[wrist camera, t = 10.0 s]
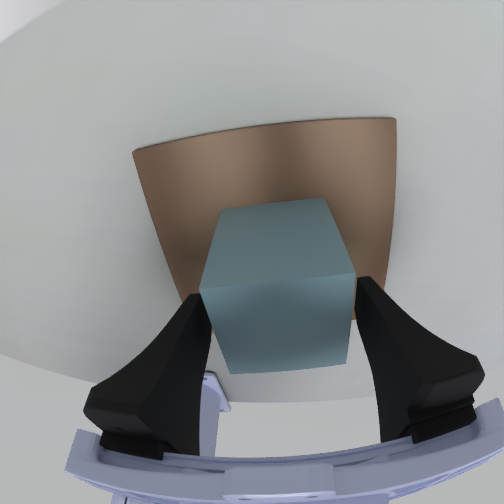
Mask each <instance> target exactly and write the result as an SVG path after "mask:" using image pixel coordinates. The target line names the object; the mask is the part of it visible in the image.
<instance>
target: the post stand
mask: <svg viewBox="0 0 504 504" xmlns="http://www.w3.org/2000/svg"><path fill="white" fill-rule="evenodd" d="M132 154H133V158H134V162H135V165H136V169H137V172H138V175H139V179H140V182H141V186H142V189H143V192H144V195H145V199H146V202H147V205H148V208H149V211H150V214H151V217H152V220H153V223H154V226H155V229H156V232H157V235H158V238H159V241H160V244H161V247H162V249H163V252H164V255H165V258H166V261H167V263H168V266H169V269H170V271H171V274H172V277H173V279H174V282H175V285H176V287H177V290H178V292H179V295H180V297H181V300H182V302H184V301H185V299H186V298H187V297H188V295H189V294H195V293H200V291H199V286H200V283H201V279H202V275H203V272H204V268H205V264H206V261H207V257H208V254H209V250H210V247H211V243H212V240H213V236H214V233H215V229H216V226H217V223H218V219H219V216H220V212H221V210H222V209H229V208H236V207H244V206H252V205H260V204H268V203H276V202H285V201H294V200H303V199H313V198H323V197H324V199H325V201H326V203H327V205H328V207H329V210H330V212H331V214H332V216H333V219H334V221H335V223H336V226H337V228H338V230H339V233H340V235H341V237H342V240H343V242H344V245H345V247H346V250H347V252H348V254H349V257H350V259H351V262H352V265H353V267H354V270H355V272H356V275H355V288H354V299H353V310H352V319H351V320H355V319H356V316H355V311H354V306H355V296H356V286H357V277H364V276H370V277H372V279H373V280H374V281H375V282H376V283H377V284H378V285H379V286H380V287H381V288H382V289H383V290H384V286H385V280H386V274H387V267H388V260H389V252H390V244H391V236H392V226H393V215H394V202H395V185H396V154H397V133H396V119H394V118H341V119H322V120H308V121H296V122H285V123H276V124H267V125H259V126H252V127H245V128H238V129H232V130H225V131H219V132H214V133H208V134H203V135H198V136H193V137H188V138H183V139H178V140H174V141H169V142H165V143H161V144H156V145H152V146H148V147H144V148H140V149H137V150H134V151H133V152H132ZM212 333H215V332H214V330H213V327H212Z"/></svg>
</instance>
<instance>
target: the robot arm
mask: <svg viewBox="0 0 504 504" xmlns="http://www.w3.org/2000/svg"><path fill="white" fill-rule="evenodd" d="M354 311H355V316H356V321H357V326H358V330H359V333H360V336H361V339H362V342H363V345H364V348H365V351H366V354H367V357H368V360H369V363H370V367H371V370H372V375H373V380H374V386H375V391H376V398H377V405H378V414H379V424H380V438H381V443H380V444H375V445H370V446H365V447H360V448H355V449H348V450H342V451H336V452H328V453H320V454H312V455H301V456H288V457H267V458H228V457H227V458H226V457H214V456H215V446H216V437H217V428H218V419H219V412H230V411H231V407H230V405H229V403H228V401H227V399H226V396H225V394H224V392H223V390H222V388H221V386H220V384H219V382H218V380H217V378H216V376H215V374H213V373H205V368H206V363H207V358H208V353H209V348H210V343H211V333H212V324H211V322H210V319H209V316H208V313H207V311H206V308H205V305H204V302H203V299H202V297H201V294H200V293H195V294H189V295H188V297H187V298H186V299H185V301H184V302H183V303H182V305H181V306H180V307H179V309H178V310H177V312H176V313H175V314H174V316H173V317H172V318H171V320H170V321H169V322H168V323H167V325H166V326H165V327H164V328H163V330H162V331H161V332H160V333H159V334H158V336H157V337H156V338H155V339H154V340H153V341H152V342H151V343H150V344H149V345H148V346H147V347H146V348H145V349H144V350H143V351H142V352H141V353H140V354H139V355H138V356H137V357H136V358H134V359H133V360H132V361H131V362H130V363H129V364H127V365H126V366H125V367H123V368H122V369H121V370H119V371H118V372H117V373H115V374H114V375H112V376H111V377H109V378H108V379H106V380H104V381H102V382H101V383H99V384H97V385H96V386H94V387H92V388H91V390H90V393H89V395H88V398H87V401H86V403H85V406H84V409H83V412H84V414H85V415H86V417H87V418H88V419H89V420H90V421H92V422H93V423H94V424H95V425H96V426H97V427H99V428H100V429H101V430H102V431H103V433H102V436H100V435H98V434H95V433H91V432H88V431H84V430H81V429H78V430H77V432H76V435H75V438H74V441H73V444H72V447H71V450H70V453H69V457H68V460H67V464H66V467H65V471H66V472H67V473H69V474H70V475H73V476H74V477H76V478H78V479H80V480H82V481H84V482H86V483H88V484H90V485H92V486H95V487H97V488H100V489H103V490H106V491H109V492H112V493H113V496H112V501H111V504H389V500H392V499H395V498H398V497H402V496H405V495H408V494H411V493H414V492H417V491H420V490H423V489H426V488H428V487H431V486H433V485H436V484H438V483H441V482H444V481H446V480H448V479H451V478H453V477H455V476H457V475H460V474H462V473H464V472H466V471H468V470H471V469H472V468H475V467H477V466H479V465H481V464H483V463H485V462H487V461H488V460H490V459H491V458H493V457H494V456H496V455H497V454H498V453H500V452H501V451H502V450H504V411H503V409H502V406H501V403H500V401H499V399H498V398H495V399H493V400H491V401H489V402H487V403H484V404H482V405H480V406H478V407H477V408H475V409H474V408H473V405H472V404H473V403H474V401H475V400H474V398H473V393H474V392H475V391H476V390H477V388H478V387H479V386H480V384H481V383H482V381H483V379H484V376H485V373H484V370H483V368H482V366H481V364H480V362H479V360H478V358H477V356H475V355H473V354H470V353H468V352H466V351H463V350H461V349H459V348H457V347H455V346H453V345H451V344H449V343H447V342H446V341H444V340H442V339H440V338H439V337H437V336H436V335H434V334H433V333H431V332H430V331H428V330H427V329H425V328H424V327H423V326H421V325H420V324H419V323H418V322H416V321H415V320H414V319H413V318H411V317H410V316H409V315H408V314H407V313H406V312H405V311H404V310H402V309H401V308H400V307H399V306H398V305H397V304H396V303H395V302H394V301H393V300H392V299H391V298H390V297H389V296H388V295H387V294H386V293H385V291H384V290H383V289H382V288H381V287H380V286H379V285H378V284H377V283H376V282H375V281H374V280H373V279H372V277H370V276H364V277H357V286H356V296H355V306H354Z"/></svg>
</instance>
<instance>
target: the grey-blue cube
mask: <svg viewBox="0 0 504 504" xmlns="http://www.w3.org/2000/svg"><path fill="white" fill-rule="evenodd" d="M355 275H356V272H355V270H354V267H353V265H352V262H351V259H350V257H349V254H348V252H347V250H346V247H345V245H344V242H343V240H342V237H341V235H340V233H339V230H338V228H337V226H336V223H335V221H334V219H333V216H332V214H331V212H330V210H329V207H328V205H327V203H326V201H325V199H324V197H323V198H313V199H303V200H294V201H285V202H276V203H268V204H260V205H252V206H244V207H236V208H229V209H222V210H221V212H220V216H219V219H218V223H217V226H216V229H215V233H214V236H213V240H212V243H211V247H210V250H209V254H208V257H207V261H206V264H205V268H204V272H203V275H202V279H201V283H200V286H199V291H200V294H201V297H202V299H203V302H204V305H205V308H206V311H207V313H208V316H209V319H210V322H211V324H212V327H213V330H214V332H215V335H216V338H217V340H218V343H219V346H220V348H221V351H222V353H223V356H224V359H225V361H226V364H227V366H228V369H229V371H230V374H244V373H262V372H277V371H289V370H299V369H309V368H317V367H326V366H333V365H340V364H346V358H347V351H348V344H349V336H350V328H351V319H352V310H353V299H354V288H355Z"/></svg>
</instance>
